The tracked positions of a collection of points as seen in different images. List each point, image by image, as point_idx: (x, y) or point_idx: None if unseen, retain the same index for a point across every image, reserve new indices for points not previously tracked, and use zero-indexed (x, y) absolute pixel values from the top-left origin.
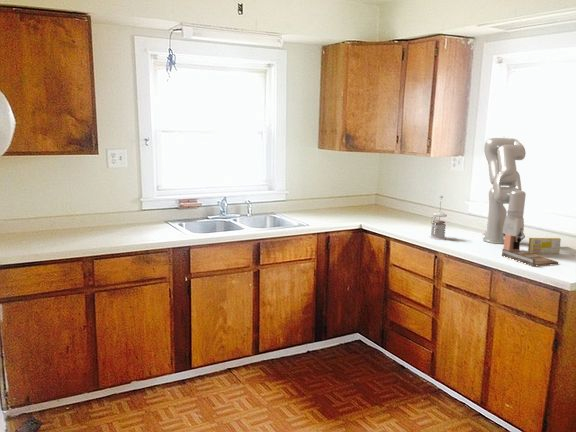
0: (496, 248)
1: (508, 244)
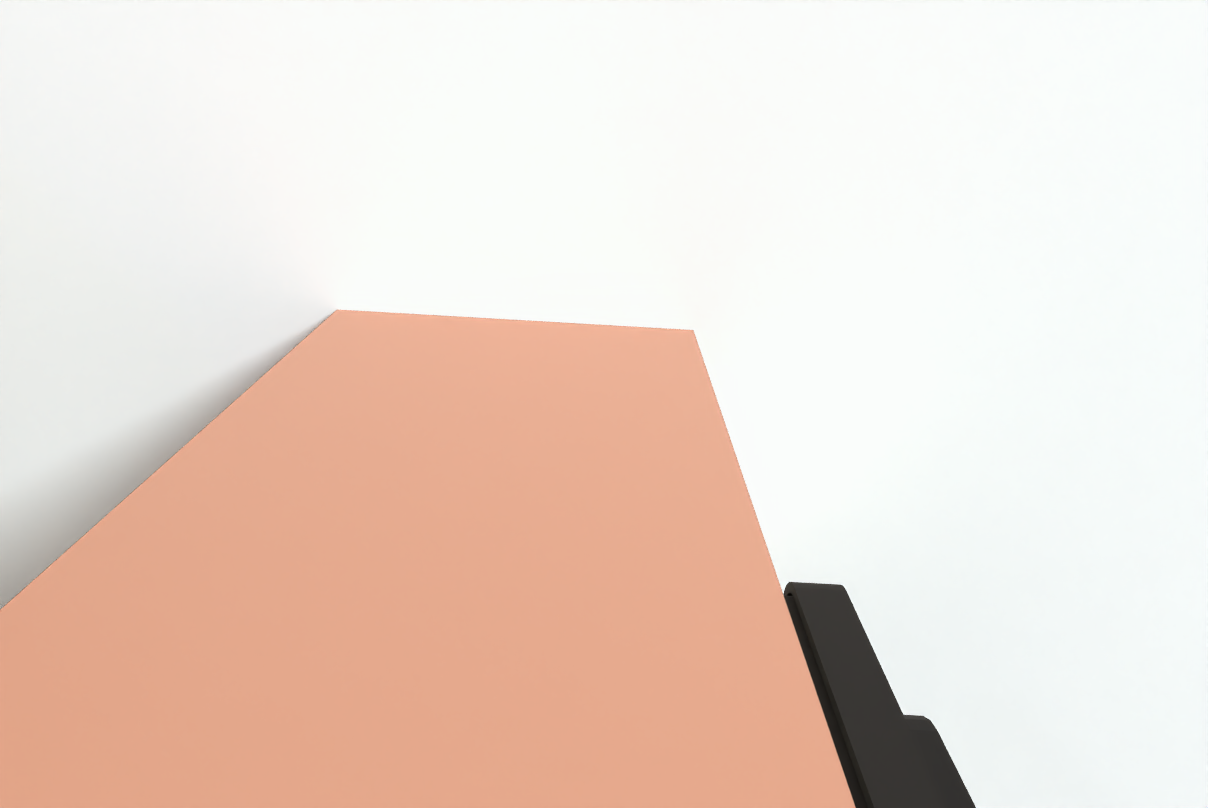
0: (1108, 335)
1: (303, 460)
